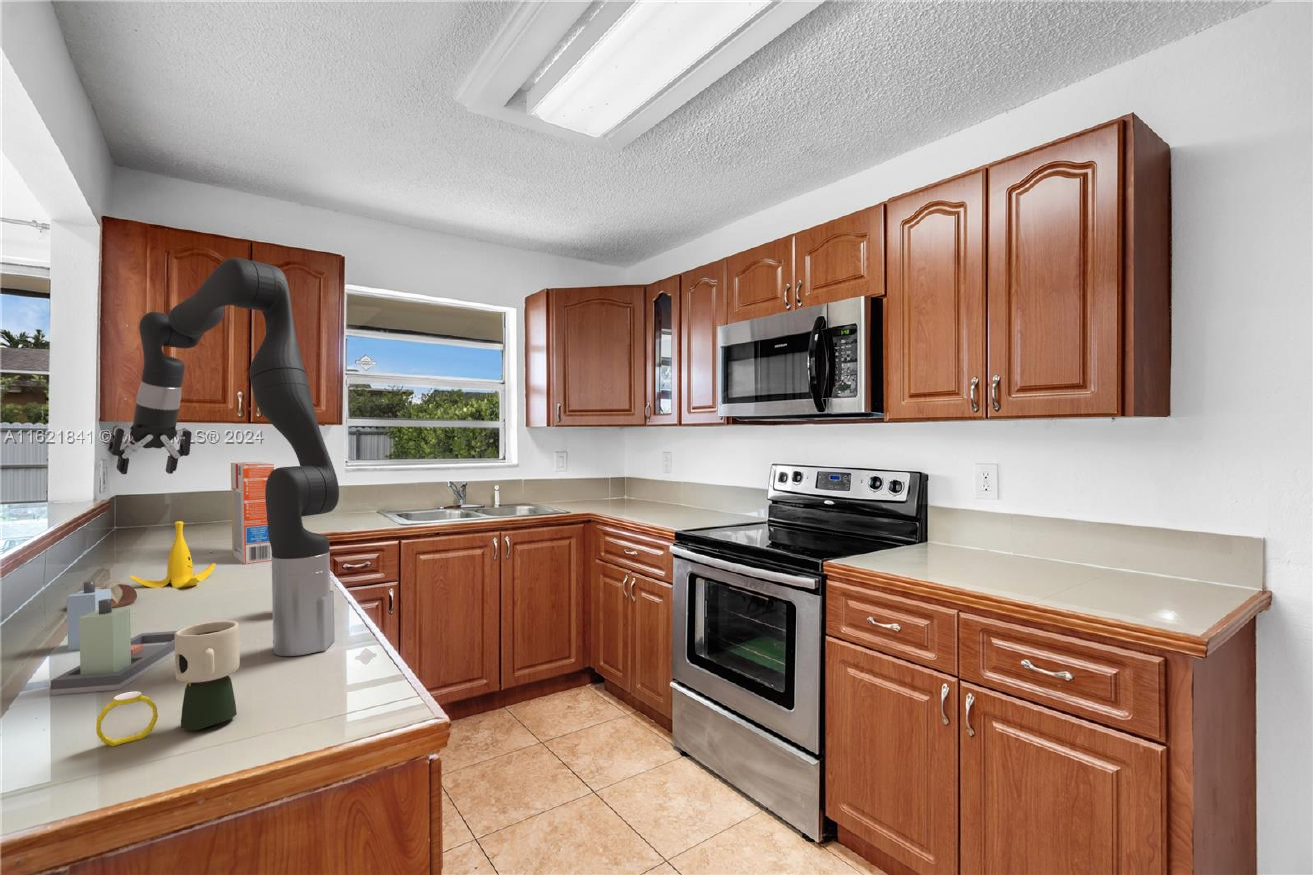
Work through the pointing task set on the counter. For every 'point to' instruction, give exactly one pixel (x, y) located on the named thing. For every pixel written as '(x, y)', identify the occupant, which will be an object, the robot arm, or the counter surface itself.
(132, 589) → the bread
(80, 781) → the counter surface
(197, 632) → the character mug
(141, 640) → the grey rimmed tray
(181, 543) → the banana peel
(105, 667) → the green knobbed block
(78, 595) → the plug
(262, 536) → the pasta box
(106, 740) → the watch
